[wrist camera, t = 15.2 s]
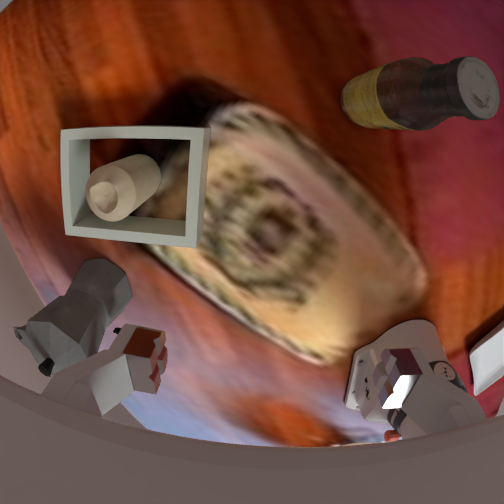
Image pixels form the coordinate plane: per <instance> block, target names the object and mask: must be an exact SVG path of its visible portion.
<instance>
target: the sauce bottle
mask: <svg viewBox="0 0 504 504" xmlns="http://www.w3.org/2000/svg"><path fill="white" fill-rule="evenodd" d="M340 103H341V107H342V109H343V111H344V113H345V115H346V116H347V117H348V118H349V120H351V121H352V122H354V123H355V124H358V125H360V126H363V127H366V128H381V129H401V130H420V131H422V130H428V129H431V128H433V127H435V126H437V125H438V124H439V123H441V122H442V121H444V120H446V119H447V118H449V117H453V116H464V117H466V118H468V119H470V120H486V119H489V118H492V117H493V116H494V115H495V114H496V112H497V110H498V106H499V89H498V84H497V81H496V79H495V76H494V75H493V73H492V71H491V70H490V68H489V67H488V66H487V65H486V64H485V63H484V62H483V61H481V60H480V59H479V58H475V57H472V56H468V57H460V58H456V59H453V60H452V61H450V62H449V63H446V64H433V63H432V62H431V61H429V60H427V59H425V58H416V57H411V58H405V59H402V60H400V61H394V62H390V63H388V64H385V65H383V66H380V67H378V68H375V69H373V70H370V71H368V72H365V73H363V74H361V75H358V76H356V77H354V78H353V79H352V80H350V81H348V82H347V83H346V84H345V86H344V87H343V89H342V93H341V98H340Z"/></svg>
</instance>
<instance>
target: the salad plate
mask: <svg viewBox="0 0 504 504" xmlns="http://www.w3.org/2000/svg"><path fill="white" fill-rule="evenodd" d="M469 356H470V362H471V367H472V371H473V379H474V395H475V396H476V395H478V394H479V393H481V392H482V391H483V390H485V389H486V388H488V387H489V386H490V385H492V384H493V383H494V382H495V381H497V380H498V379H499V378H501V377H502V376H503V375H504V320H503V321H502V322H501V323H500V324H499V325H497V326H496V327H495V328H494V329H493V330H492V331H490V332H489V333H488V334H487V335H486V336H485V337H483V338H482V339H481V340H480V341H479V342H478V343H476V344H475V345H474V347H473V348H472V349H471V351H470V354H469Z"/></svg>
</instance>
